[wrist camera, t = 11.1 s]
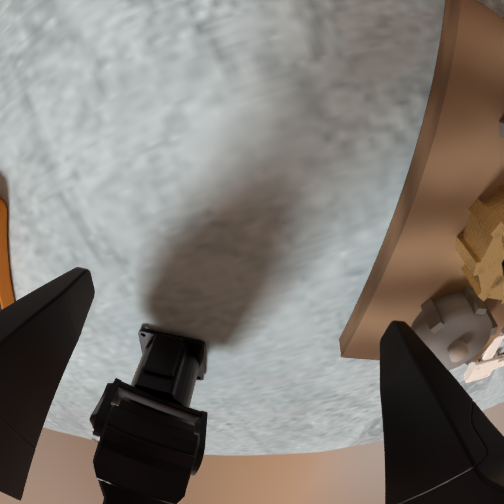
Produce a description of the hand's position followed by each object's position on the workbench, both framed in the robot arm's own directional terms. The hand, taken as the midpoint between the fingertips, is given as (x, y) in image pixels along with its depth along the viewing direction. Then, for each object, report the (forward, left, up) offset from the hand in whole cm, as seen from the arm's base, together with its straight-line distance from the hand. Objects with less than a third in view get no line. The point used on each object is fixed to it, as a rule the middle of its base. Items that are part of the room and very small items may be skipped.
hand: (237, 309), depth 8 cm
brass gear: (0, -17, -10) cm, 20 cm away
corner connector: (-14, -31, -13) cm, 36 cm away
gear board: (0, -17, -12) cm, 21 cm away
